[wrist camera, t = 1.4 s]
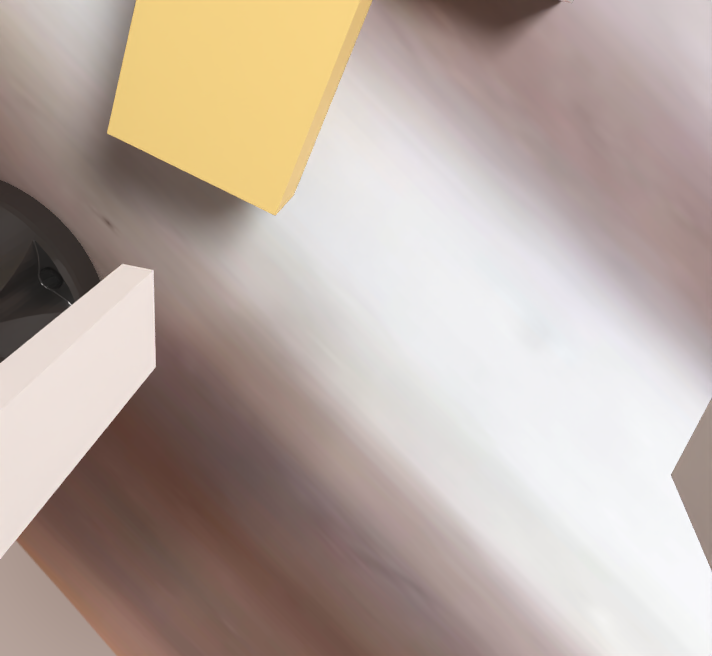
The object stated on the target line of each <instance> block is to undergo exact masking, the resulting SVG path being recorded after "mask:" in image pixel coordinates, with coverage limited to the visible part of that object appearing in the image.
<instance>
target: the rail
mask: <svg viewBox="0 0 712 656" xmlns="http://www.w3.org/2000/svg"><path fill="white" fill-rule="evenodd" d="M560 1H561V2H568V3H572V2H573V1H574V0H560Z"/></svg>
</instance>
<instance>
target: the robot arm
mask: <svg viewBox="0 0 712 656" xmlns="http://www.w3.org/2000/svg"><path fill="white" fill-rule="evenodd" d="M155 367H156V360H155V314H154V270H150V269H145V268H140V267H135V266H130V265H125V264H122V265H120V266H119V267H118V268H117V269H116V270H114V271H113V272H112V273H111V274H109V275H108V276H107V277H106V278H105V279H103V280H102V281H101V282H100V280H99V277H98V275H97V273H96V270H95V268H94V266H93V264H92V262H91V260H90V259H89V257H88V255H87V254H86V252H85V250H84V249H83V247H82V246H81V244H80V243H79V242H78V240H77V239H76V238H75V236H74V235H73V234H72V233H71V232H70V230H69V229H68V228H67V227H66V226H65V225H64V224H63V223H62V222H61V221H60V220H59V219H58V218H57V217H56V216H55V215H54V214H53V213H52V212H51V211H49V210H48V209H47V208H46V207H45V206H43V205H42V204H41V203H40V202H38V201H37V200H35V199H34V198H33V197H31V196H30V195H28V194H26V193H25V192H23V191H21V190H20V189H18V188H16V187H14V186H12V185H10V184H8V183H6V182H3V181H1V180H0V559H1V558H2V556H3V555H4V554H5V553H6V552H7V550H8V549H9V548H10V547H11V545H12V544H13V543H14V542H15V540H16V539H17V538H18V537H19V535H20V534H21V533H22V532H23V530H24V529H25V528H26V527H27V526H28V524H29V523H30V522H31V521H32V519H33V518H34V517H35V516H36V514H37V513H38V512H39V511H40V509H41V508H42V507H43V506H44V505H45V503H46V502H47V501H48V500H49V498H50V497H51V496H52V495H53V493H54V492H55V491H56V490H57V488H58V487H59V486H60V485H61V483H62V482H63V481H64V480H65V479H66V477H67V476H68V475H69V474H70V472H71V471H72V470H73V469H74V467H75V466H76V465H77V464H78V462H79V461H80V460H81V459H82V458H83V456H84V455H85V454H86V453H87V451H88V450H89V449H90V448H91V446H92V445H93V444H94V443H95V441H96V440H97V439H98V438H99V436H100V435H101V434H102V433H103V432H104V430H105V429H106V428H107V427H108V425H109V424H110V423H111V422H112V420H113V419H114V418H115V417H116V415H117V414H118V413H119V412H120V411H121V409H122V408H123V407H124V406H125V404H126V403H127V402H128V401H129V399H130V398H131V397H132V396H133V394H134V393H135V392H136V391H137V389H138V388H139V387H140V386H141V385H142V383H143V382H144V381H145V380H146V378H147V377H148V376H149V375H150V373H151V372H152V371H153V370H154V368H155ZM671 476H672V479H673V481H674V483H675V486H676V488H677V490H678V493H679V495H680V497H681V500H682V502H683V504H684V507H685V509H686V511H687V514H688V516H689V519H690V521H691V523H692V526H693V528H694V530H695V533H696V535H697V537H698V540H699V542H700V544H701V547H702V549H703V551H704V554H705V556H706V558H707V561H708V563H709V565H710V568H711V570H712V399H711V400H710V402H709V404H708V406H707V408H706V410H705V412H704V414H703V415H702V417H701V419H700V421H699V423H698V425H697V427H696V429H695V431H694V432H693V434H692V436H691V438H690V440H689V442H688V444H687V446H686V447H685V449H684V451H683V453H682V455H681V457H680V459H679V461H678V463H677V464H676V466H675V468H674V470H673V472H672V474H671Z"/></svg>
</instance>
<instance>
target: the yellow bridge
mask: <svg viewBox="0 0 712 656" xmlns="http://www.w3.org/2000/svg"><path fill="white" fill-rule="evenodd" d="M371 2H372V0H136V3H135V8H134V12H133V17H132V21H131V26H130V31H129V35H128V40H127V44H126V49H125V53H124V58H123V62H122V67H121V72H120V76H119V81H118V85H117V90H116V94H115V99H114V103H113V108H112V113H111V117H110V122H109V126H108V131H107V134H110V135H112V136H114V137H116V138H118V139H120V140H122V141H124V142H126V143H128V144H130V145H132V146H134V147H136V148H138V149H140V150H142V151H144V152H146V153H148V154H150V155H152V156H154V157H156V158H159V159H161V160H163V161H165V162H167V163H169V164H171V165H173V166H175V167H177V168H179V169H181V170H183V171H185V172H187V173H189V174H191V175H193V176H195V177H197V178H199V179H201V180H203V181H206V182H208V183H210V184H212V185H214V186H216V187H218V188H220V189H222V190H224V191H226V192H228V193H230V194H232V195H234V196H236V197H238V198H240V199H242V200H244V201H246V202H248V203H250V204H252V205H255V206H257V207H259V208H261V209H263V210H265V211H267V212H269V213H271V214H273V215H276V214H277V213H278V212H279V211H280V210H281V209H282V208H283V207H284V205H285V204H286V203H287V202H288V201H289V200H290V199H291V198H292V197H293V195H294V193H295V191H296V188H297V186H298V183H299V181H300V178H301V176H302V173H303V171H304V169H305V166H306V164H307V161H308V159H309V156H310V154H311V151H312V149H313V146H314V144H315V141H316V139H317V136H318V134H319V131H320V129H321V126H322V124H323V121H324V119H325V116H326V114H327V112H328V109H329V107H330V104H331V102H332V99H333V97H334V94H335V92H336V89H337V87H338V84H339V82H340V79H341V77H342V74H343V72H344V69H345V67H346V64H347V62H348V59H349V57H350V54H351V52H352V50H353V47H354V45H355V42H356V40H357V37H358V35H359V32H360V30H361V27H362V25H363V22H364V20H365V17H366V15H367V12H368V10H369V7H370V5H371Z"/></svg>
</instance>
